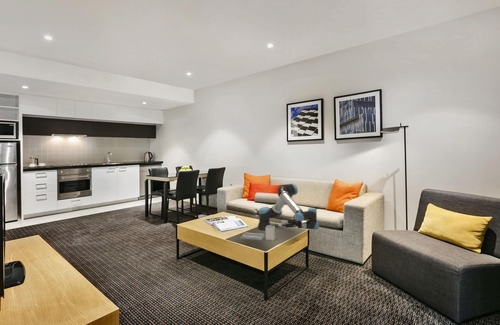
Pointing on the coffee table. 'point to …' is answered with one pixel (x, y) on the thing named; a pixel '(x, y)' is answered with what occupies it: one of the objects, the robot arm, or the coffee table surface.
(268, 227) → the module
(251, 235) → the mounting board
